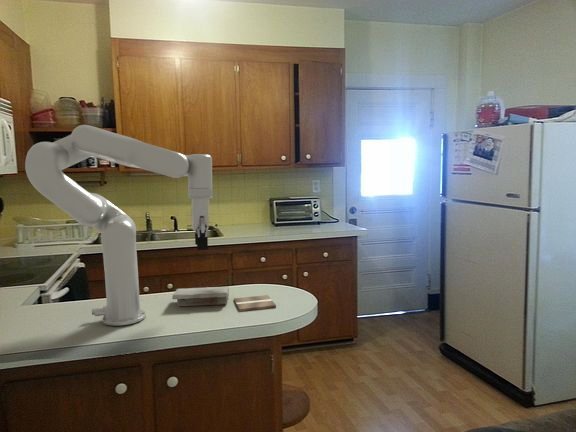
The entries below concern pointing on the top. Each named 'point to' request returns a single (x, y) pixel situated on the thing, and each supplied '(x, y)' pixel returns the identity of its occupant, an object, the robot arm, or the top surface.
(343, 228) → the top surface
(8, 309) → the top surface
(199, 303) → the packaged product
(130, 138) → the robot arm
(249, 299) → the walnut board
